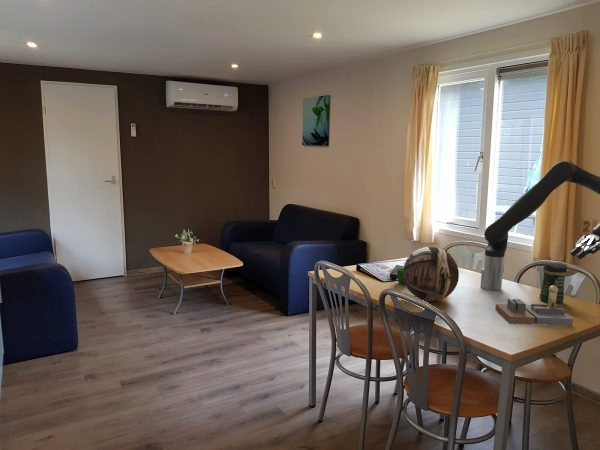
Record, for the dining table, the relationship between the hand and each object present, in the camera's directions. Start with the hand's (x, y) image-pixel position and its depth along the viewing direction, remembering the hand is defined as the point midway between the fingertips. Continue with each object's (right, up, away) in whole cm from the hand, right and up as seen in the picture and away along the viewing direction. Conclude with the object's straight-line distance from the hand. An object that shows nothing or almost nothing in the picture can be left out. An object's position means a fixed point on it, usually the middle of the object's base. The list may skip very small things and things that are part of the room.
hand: (575, 256), depth 196 cm
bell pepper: (-62, -18, +46) cm, 79 cm away
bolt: (-13, -23, 0) cm, 26 cm away
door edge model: (-18, -26, +1) cm, 32 cm away
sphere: (-56, -22, +22) cm, 64 cm away
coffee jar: (+2, -23, +22) cm, 32 cm away
